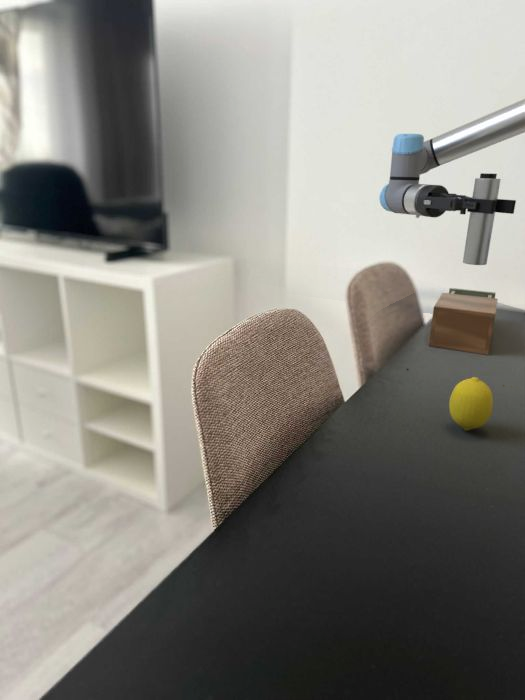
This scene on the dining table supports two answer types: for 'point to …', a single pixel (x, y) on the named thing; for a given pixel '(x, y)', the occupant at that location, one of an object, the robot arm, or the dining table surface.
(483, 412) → the lemon
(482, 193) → the silver capped cylinder
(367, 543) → the dining table surface
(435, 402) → the dining table surface
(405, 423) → the dining table surface
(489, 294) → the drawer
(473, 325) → the cabinet
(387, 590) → the dining table surface
